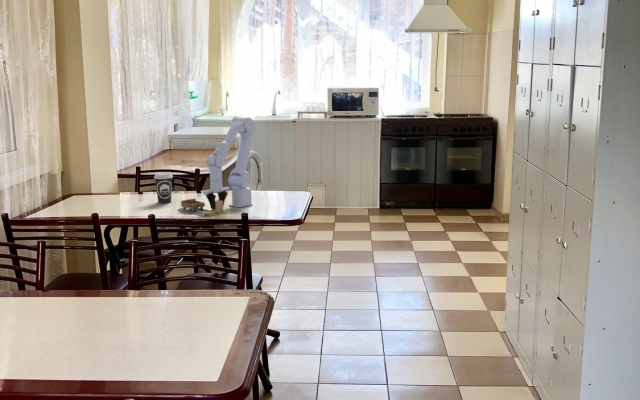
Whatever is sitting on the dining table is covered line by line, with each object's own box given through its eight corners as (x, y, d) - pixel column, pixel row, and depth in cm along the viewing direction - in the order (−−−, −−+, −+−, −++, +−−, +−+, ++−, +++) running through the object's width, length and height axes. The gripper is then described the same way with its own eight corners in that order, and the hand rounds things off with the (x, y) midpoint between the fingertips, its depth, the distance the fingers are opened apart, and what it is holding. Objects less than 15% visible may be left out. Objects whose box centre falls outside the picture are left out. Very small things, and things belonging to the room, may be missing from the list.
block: (218, 209, 331) (217, 199, 330) (223, 210, 329) (222, 200, 328) (211, 210, 329) (211, 200, 328) (216, 211, 326) (216, 201, 325)
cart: (195, 206, 334) (194, 198, 333) (204, 208, 329) (204, 200, 328) (181, 208, 329) (180, 200, 328) (191, 211, 323) (190, 202, 322)
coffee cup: (178, 201, 353) (176, 172, 350) (166, 204, 345) (165, 175, 342) (163, 200, 357) (161, 171, 354) (151, 203, 348) (149, 174, 346)
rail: (192, 207, 336) (192, 204, 336) (221, 214, 321) (221, 210, 320) (177, 210, 330) (177, 206, 330) (206, 216, 314) (206, 213, 314)
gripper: (223, 177, 334) (223, 204, 336) (198, 180, 323) (199, 208, 326) (232, 178, 329) (232, 206, 331) (207, 182, 319) (208, 210, 321)
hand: (217, 207), depth 328 cm, fingers open, 5 cm apart
